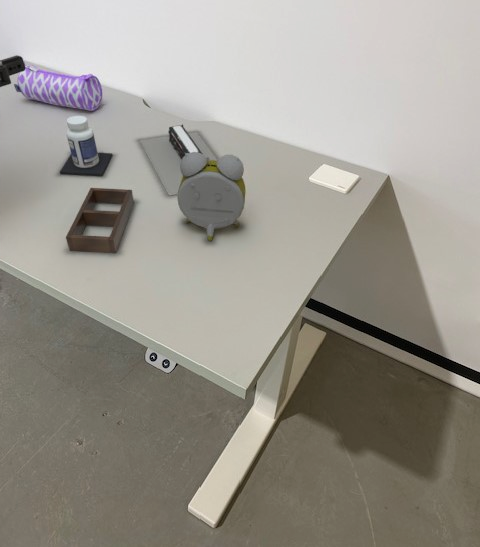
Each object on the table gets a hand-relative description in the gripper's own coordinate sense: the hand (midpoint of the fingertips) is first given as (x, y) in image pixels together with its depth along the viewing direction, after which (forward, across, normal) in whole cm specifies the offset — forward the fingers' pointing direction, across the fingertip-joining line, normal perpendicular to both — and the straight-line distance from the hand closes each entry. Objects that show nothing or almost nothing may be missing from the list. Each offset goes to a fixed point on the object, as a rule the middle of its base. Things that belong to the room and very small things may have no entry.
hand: (4, 56), depth 68 cm
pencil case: (+30, +28, +26) cm, 49 cm away
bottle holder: (-3, -18, +25) cm, 31 cm away
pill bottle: (+11, 0, +25) cm, 27 cm away
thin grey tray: (+25, -16, +25) cm, 39 cm away
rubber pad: (+11, 0, +25) cm, 27 cm away
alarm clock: (+7, -36, +25) cm, 44 cm away
